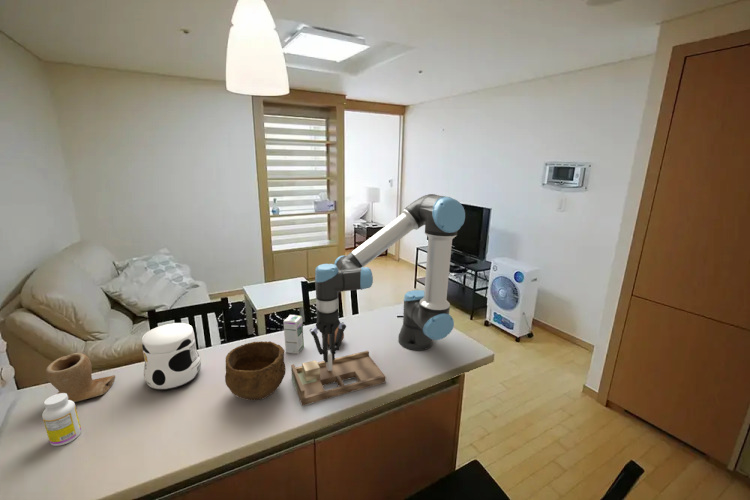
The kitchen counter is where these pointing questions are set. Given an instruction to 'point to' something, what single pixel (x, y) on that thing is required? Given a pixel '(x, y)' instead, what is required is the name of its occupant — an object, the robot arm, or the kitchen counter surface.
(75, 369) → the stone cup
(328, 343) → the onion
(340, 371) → the board
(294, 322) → the syrup box
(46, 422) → the supplement bottle
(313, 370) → the maple block
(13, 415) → the kitchen counter surface
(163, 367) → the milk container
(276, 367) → the bowl
